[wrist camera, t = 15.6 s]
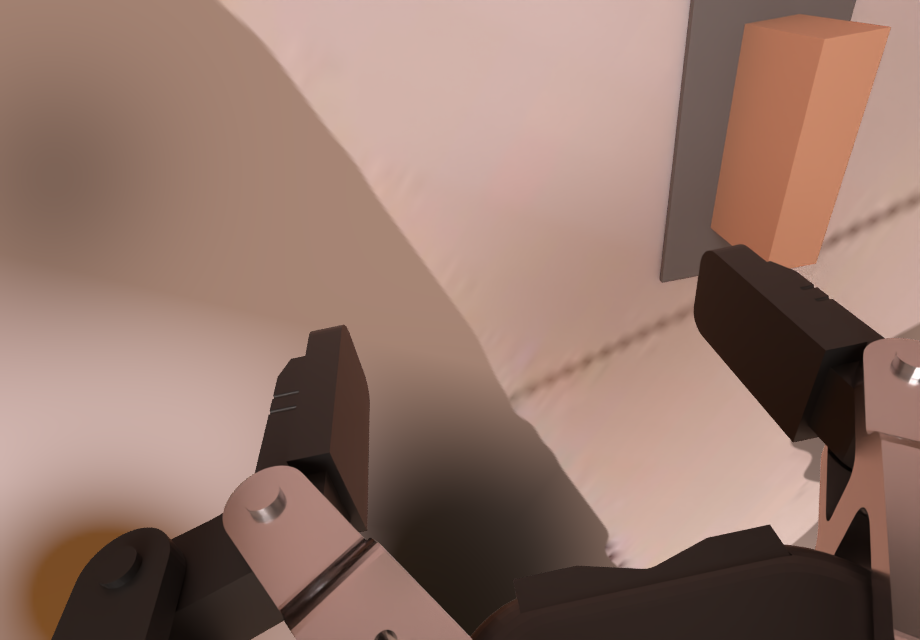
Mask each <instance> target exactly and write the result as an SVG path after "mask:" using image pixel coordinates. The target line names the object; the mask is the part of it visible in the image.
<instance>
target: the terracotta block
mask: <svg viewBox="0 0 920 640" xmlns="http://www.w3.org/2000/svg"><path fill="white" fill-rule="evenodd" d="M890 29H891V27H887V26H880V25H873V24H866V23H859V22H852V21H845V20H838V19H831V18H824V17H817V16H810V15H803V14H797V15H791V16H786V17H780V18H775V19H769V20H764V21H758V22H753V23H747V24H745V26H744V32H743V38H742V44H741V50H740V56H739V62H738V68H737V74H736V80H735V86H734V92H733V98H732V104H731V110H730V116H729V121H728V127H727V133H726V139H725V145H724V151H723V157H722V163H721V169H720V175H719V181H718V187H717V193H716V199H715V205H714V211H713V217H712V222H711V229H713V230H714V231H715V232H716V233H717V234H719V235H720V236H721V237H722V238H723V239H725V240H726V241H727V242H728V243H730V244H731V245H732V246H733V245H738V244H743V245H746V246H747V247H749V248H750V249H751V250H753V251H754V252H755V253H756V254H758V255H759V256H760V257H761V258H763V259H764V260H765V261H766V262H768V261H772V262H774V263H777V264H779V265H782V266H784V267H787V268H794V267H799V266H805V265H810V264H815V263H816V261H817V258H818V255H819V252H820V249H821V246H822V242H823V239H824V236H825V233H826V230H827V227H828V224H829V220H830V217H831V214H832V211H833V208H834V205H835V202H836V198H837V195H838V192H839V189H840V186H841V183H842V180H843V176H844V173H845V170H846V167H847V164H848V161H849V158H850V155H851V151H852V148H853V145H854V142H855V139H856V136H857V133H858V129H859V126H860V123H861V120H862V117H863V114H864V111H865V107H866V104H867V101H868V98H869V95H870V92H871V89H872V85H873V82H874V79H875V76H876V73H877V70H878V67H879V63H880V60H881V57H882V54H883V51H884V48H885V45H886V41H887V38H888V35H889V32H890Z"/></svg>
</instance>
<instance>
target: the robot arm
mask: <svg viewBox="0 0 920 640" xmlns="http://www.w3.org/2000/svg"><path fill="white" fill-rule="evenodd" d="M694 318H695V322H696V325H697V328H698V330H699V332H700V333H701V335H702V336H703V337H704V338H705V340H706V341H707V342H708V343H709V344H710V346H711V347H712V348H713V349H714V350H715V351H716V353H717V354H718V355H719V356H720V357H721V358H722V360H723V361H724V362H725V363H726V364H727V365H728V367H729V368H730V369H731V370H732V371H733V372H734V374H735V375H736V376H737V377H738V378H739V380H740V381H741V382H742V383H743V384H744V385H745V387H746V388H747V389H748V390H749V391H750V392H751V394H752V395H753V396H754V397H755V398H756V399H757V401H758V402H759V403H760V404H761V405H762V407H763V408H764V409H765V410H766V411H767V412H768V414H769V415H770V416H771V417H772V418H773V419H774V421H775V422H776V423H777V424H778V425H779V426H780V428H781V429H782V430H783V431H784V432H785V434H786V435H787V436H788V437H789V438H790V439H791V441H792V442H797V441H802V440H807V439H811V438H816V437H819V438H820V439H821V440H822V441H823V442H824V443H825V446H824V449H823V451H822V454H821V469H820V493H819V519H818V536H817V542H816V546H815V550H814V549H810V548H805V547H799V546H792V545H784V544H783V543H782V542H781V540H780V539H779V537H778V536H777V534H776V533H775V531H774V530H773V529H772V527H771V526H770V525H765V526H761V527H756V528H751V529H747V530H742V531H737V532H733V533H728V534H723V535H719V536H714V537H709V538H706V539H704V540H702V541H701V542H699V543H697V544H695V545H693V546H691V547H690V548H688V549H686V550H684V551H682V552H680V553H679V554H677V555H675V556H673V557H671V558H669V559H668V560H666V561H664V562H662V563H660V564H658V565H657V566H654V567H652V568H648V569H633V568H610V567H590V566H573V567H569V568H565V569H559V570H555V571H550V572H545V573H541V574H536V575H532V576H526V577H522V578H517V579H513V581H514V587H515V592H516V597H517V598H516V599H515V600H513V601H511V602H509V603H507V604H505V605H504V606H502V607H501V608H500V609H498V610H497V611H496V612H494V613H493V614H491V616H489V617H488V618H487V619H486V620H485V621H484V622H483V623H482V624H481V625H480V626H479V627H478V628H477V629H476V630H475V632H474V633H473V634H472V635H471V637H470V636H469V635H467V633H465V631H463V629H462V628H461V627H460V626H459V625H458V624H457V623H456V622H455V621H454V620H453V619H452V618H451V617H450V616H449V615H448V614H447V613H446V612H445V611H444V610H443V609H442V608H441V607H440V606H439V604H438V603H437V602H435V600H434V599H432V597H431V596H430V595H429V594H428V593H427V592H426V591H425V590H424V589H423V588H422V587H421V586H420V585H419V584H418V583H417V582H416V581H415V580H414V579H413V578H412V577H411V576H410V575H409V573H407V571H406V570H405V569H403V567H402V566H401V565H400V564H399V563H398V562H397V561H396V560H395V559H394V558H393V557H392V556H391V555H390V554H389V553H388V552H387V551H386V550H385V549H384V548H383V547H382V546H381V545H380V544H379V543H378V542H377V541H375V540H374V539H372V538H369V539H368V540H366V539H365V538H363V537H362V536H361V535H360V534H359V532H363V531H367V514H368V510H367V509H368V462H369V411H370V409H369V408H370V400H369V391H368V385H367V381H366V377H365V375H364V372H363V369H362V366H361V363H360V361H359V358H358V355H357V353H356V350H355V347H354V345H353V342H352V339H351V336H350V333H349V331H348V329H347V327H346V326H345V325H341V326H336V327H331V328H326V329H321V330H316V331H312V332H310V334H309V339H308V344H307V350H306V355H305V356H303V357H298V358H293V359H291V360H290V361H289V362H288V364H287V365H286V367H285V368H284V369H283V371H282V372H281V373H280V375H279V376H278V378H277V382H276V387H275V391H274V395H273V396H274V399H273V400H272V403H271V408H270V415H269V416H268V420H267V424H266V429H265V433H264V437H263V441H262V445H261V449H260V454H259V458H258V462H257V466H256V470H255V474H253V475H252V476H250V477H249V478H247V479H246V480H245V481H243V482H242V483H241V484H240V485H239V486H238V487H237V488H236V489H235V490H234V492H233V493H232V494H231V496H230V497H229V499H228V501H227V503H226V505H225V508H224V512H223V513H222V514H221V515H219V516H217V517H215V518H214V519H212V520H210V521H208V522H206V523H204V524H202V525H200V526H198V527H196V528H194V529H192V530H190V531H188V532H185V533H184V534H181V535H179V536H177V537H175V538H173V539H170V538H169V537H168V536H167V535H166V534H165V533H164V532H162V531H161V530H159V529H156V528H140V529H136V530H133V531H130V532H128V533H125V534H123V535H121V536H119V537H118V538H116V539H114V540H113V541H111V542H110V543H109V544H107V545H106V546H105V547H103V548H102V549H101V550H100V551H99V552H98V553H97V554H96V555H95V556H94V557H93V558H92V559H91V560H90V561H89V563H88V564H87V565H86V566H85V568H84V569H83V570H82V572H81V574H80V575H79V577H78V579H77V581H76V584H75V586H74V588H73V590H72V593H71V595H70V597H69V600H68V602H67V604H66V607H65V609H64V611H63V614H62V616H61V619H60V621H59V623H58V625H57V628H56V630H55V633H54V635H53V637H52V640H251V639H252V638H254V637H256V636H258V635H259V634H261V633H263V632H265V631H266V630H268V629H270V628H272V627H273V626H275V625H277V624H279V623H280V622H282V621H284V622H285V623H286V625H287V626H288V628H289V630H290V631H291V633H292V634H293V635H294V637H295V638H296V640H920V341H918V340H913V339H905V338H886V339H885V338H884V337H882V336H881V335H880V334H878V333H877V332H876V331H874V330H873V329H872V328H870V327H869V326H868V325H866V324H865V323H864V322H862V321H861V320H860V319H858V318H857V317H856V316H854V315H853V314H852V313H850V312H849V311H848V310H846V309H845V308H844V307H843V306H841V305H840V304H839V303H837V302H836V301H835V300H833V299H829V296H828V295H827V294H825V293H824V292H823V291H821V290H820V289H819V288H814V285H813V284H812V283H811V282H809V281H808V280H807V279H805V278H804V277H803V276H802V275H800V274H799V273H798V272H796V271H794V270H792V269H789V268H787V267H784V266H782V265H779V264H777V263H774V262H772V261H768V262H766V261H765V260H764V259H763V258H761V257H760V256H759V255H758V254H756V253H755V252H754V251H753V250H751V249H750V248H749V247H747V246H746V245H743V244H738V245H733V246H729V247H724V248H719V249H714V250H709V251H706V252H705V253H704V254H703V255H702V258H701V262H700V268H699V275H698V282H697V289H696V296H695V303H694Z"/></svg>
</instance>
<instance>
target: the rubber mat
mask: <svg viewBox="0 0 920 640" xmlns="http://www.w3.org/2000/svg"><path fill="white" fill-rule="evenodd" d="M855 2H856V0H691V3H690V12H689V21H688V30H687V39H686V48H685V57H684V66H683V75H682V84H681V93H680V102H679V111H678V120H677V129H676V138H675V147H674V156H673V165H672V174H671V183H670V192H669V201H668V210H667V219H666V228H665V237H664V246H663V255H662V264H661V273H660V281H661V282H662V283H663V282H668V281H674V280H679V279H684V278H689V277H694V276H698V275H699V268H700V262H701V258H702V255H703V254H704V253H705V252H706V251H709V250H714V249H719V248H724V247H729V246H732V245H731V244H730V243H728V242H727V241H726V240H725V239H723V238H722V237H721V236H720V235H719V234H717V233H716V232H715V231H714V230H713V229H711V222H712V217H713V211H714V205H715V199H716V193H717V187H718V181H719V175H720V169H721V163H722V157H723V151H724V145H725V139H726V133H727V127H728V121H729V116H730V110H731V104H732V98H733V92H734V86H735V80H736V74H737V68H738V62H739V56H740V50H741V44H742V38H743V32H744V26H745V24H747V23H753V22H758V21H764V20H769V19H775V18H780V17H786V16H791V15H797V14H803V15H810V16H817V17H824V18H831V19H838V20H845V21H850V20H851V17H852V13H853V9H854V6H855Z"/></svg>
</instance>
